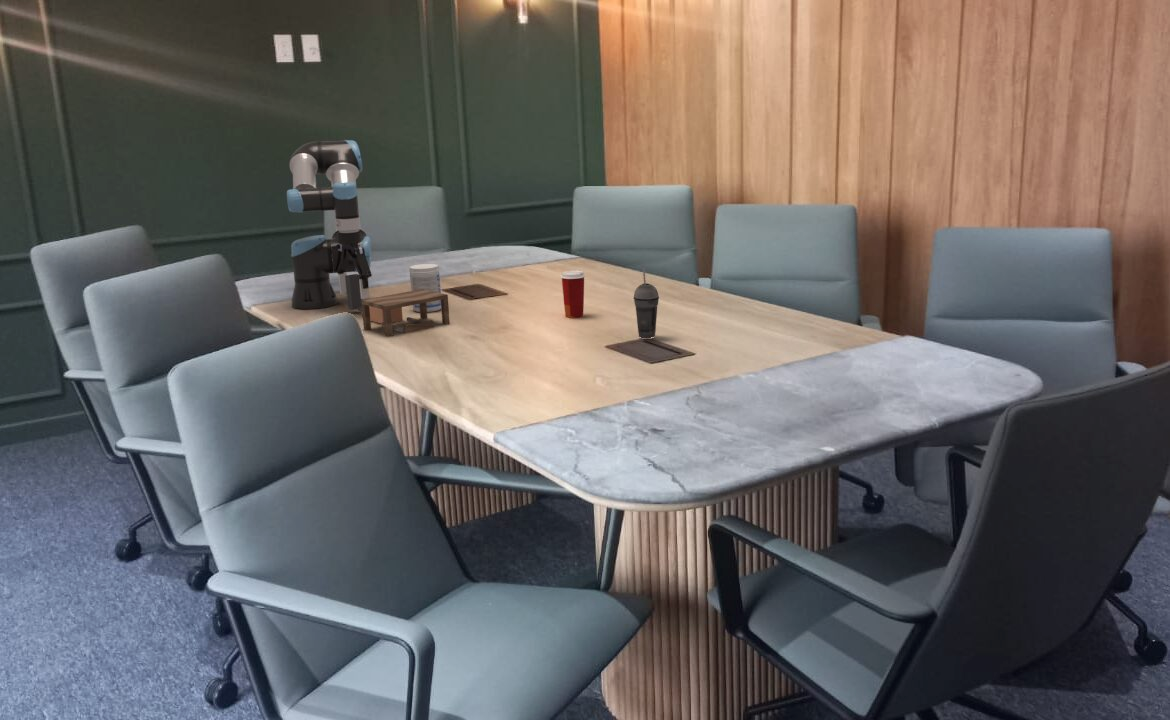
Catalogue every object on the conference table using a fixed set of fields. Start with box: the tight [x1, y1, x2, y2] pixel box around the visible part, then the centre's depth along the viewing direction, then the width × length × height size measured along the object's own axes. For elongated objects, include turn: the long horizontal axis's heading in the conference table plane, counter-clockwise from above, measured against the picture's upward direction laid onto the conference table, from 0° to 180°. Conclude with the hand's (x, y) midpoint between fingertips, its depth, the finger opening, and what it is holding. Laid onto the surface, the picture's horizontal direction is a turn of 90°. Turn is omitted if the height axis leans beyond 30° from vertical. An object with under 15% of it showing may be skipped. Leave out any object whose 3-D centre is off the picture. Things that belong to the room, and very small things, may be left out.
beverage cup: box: [633, 267, 660, 338], centre depth 286 cm, size 7×7×20 cm
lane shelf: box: [361, 289, 451, 337], centre depth 310 cm, size 14×22×9 cm, turn 132°
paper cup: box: [560, 270, 586, 319], centre depth 316 cm, size 8×8×14 cm
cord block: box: [345, 273, 404, 325], centre depth 325 cm, size 24×7×12 cm, turn 42°
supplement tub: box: [409, 263, 442, 313], centre depth 333 cm, size 10×10×15 cm
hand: (354, 295), depth 333 cm, fingers open, 13 cm apart
